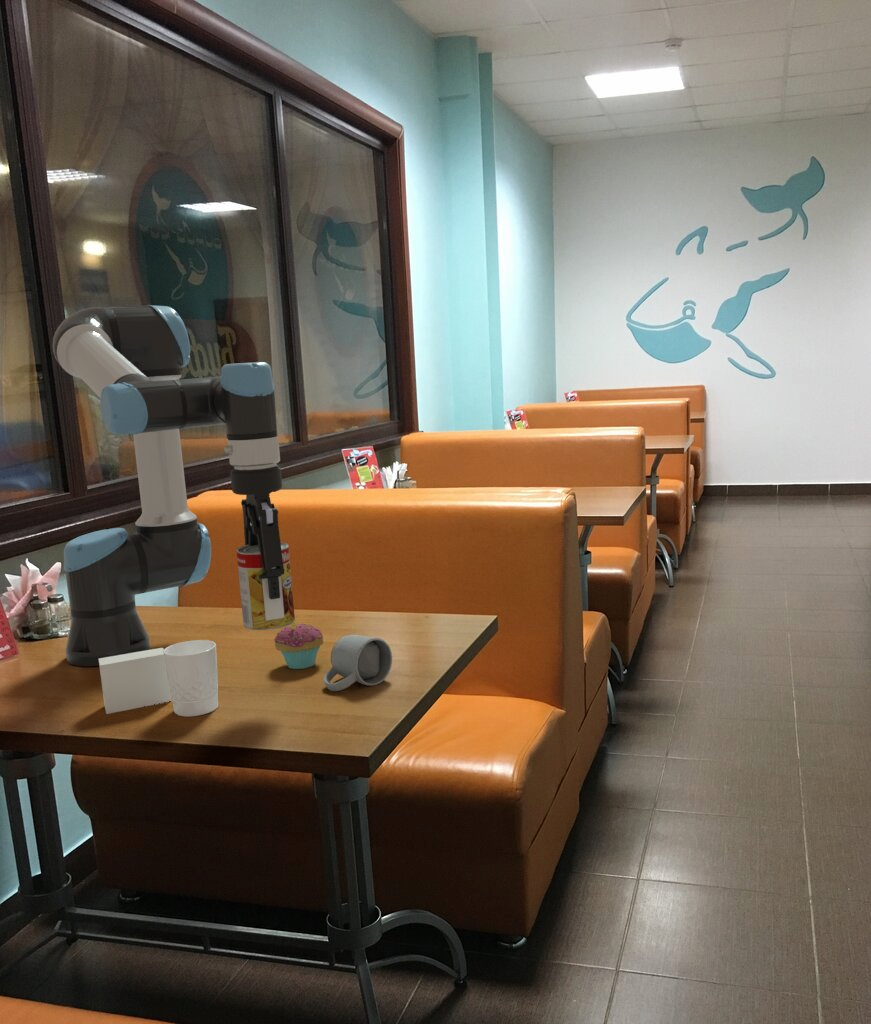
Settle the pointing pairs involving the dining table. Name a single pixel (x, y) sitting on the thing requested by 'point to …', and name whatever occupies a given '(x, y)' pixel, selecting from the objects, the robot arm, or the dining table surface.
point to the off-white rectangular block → (134, 680)
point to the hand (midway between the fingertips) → (268, 611)
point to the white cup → (192, 677)
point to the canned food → (254, 589)
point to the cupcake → (299, 645)
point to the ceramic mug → (359, 661)
